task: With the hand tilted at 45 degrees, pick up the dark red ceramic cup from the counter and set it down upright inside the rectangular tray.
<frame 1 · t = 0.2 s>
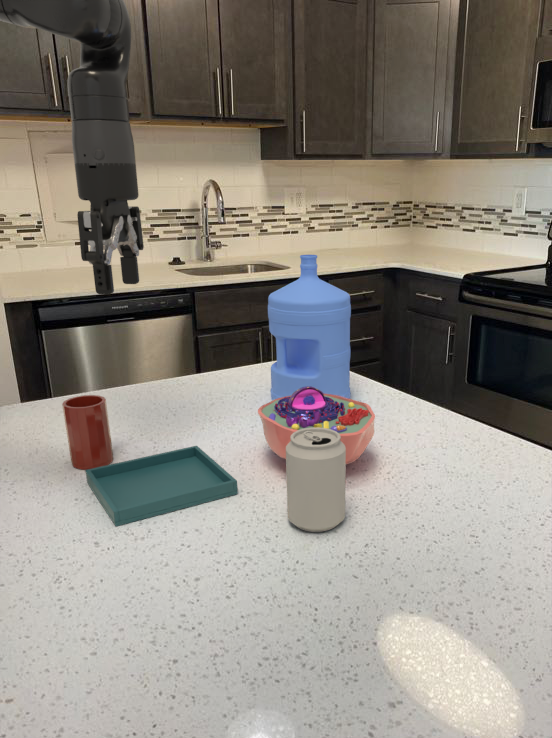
hand: (118, 288, 91), 28 cm above the counter, tool pointing down, fingers open, 8 cm apart
cup: (92, 461, 104), on the counter
rectangular tray: (161, 488, 95), on the counter
can: (316, 522, 86), on the counter
cell model: (318, 462, 104), on the counter
water jug: (310, 401, 131), on the counter
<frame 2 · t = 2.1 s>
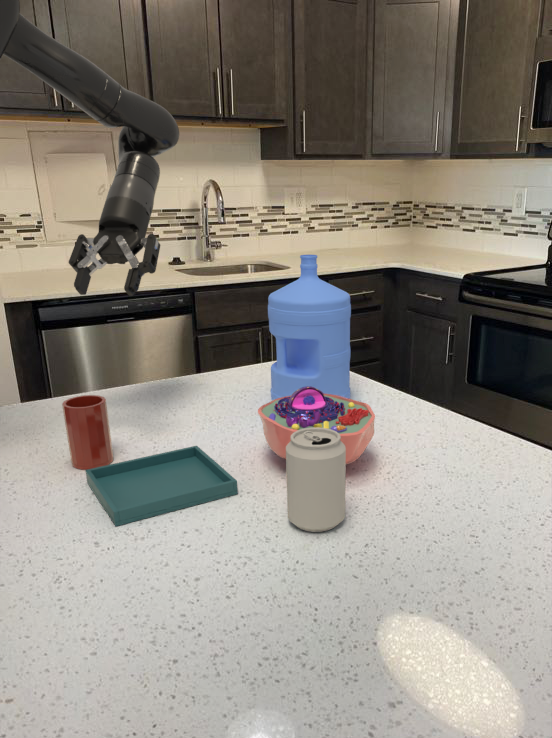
hand: (104, 292, 105), 25 cm above the counter, tool tilted 45°, fingers open, 8 cm apart
nothing on the counter moved.
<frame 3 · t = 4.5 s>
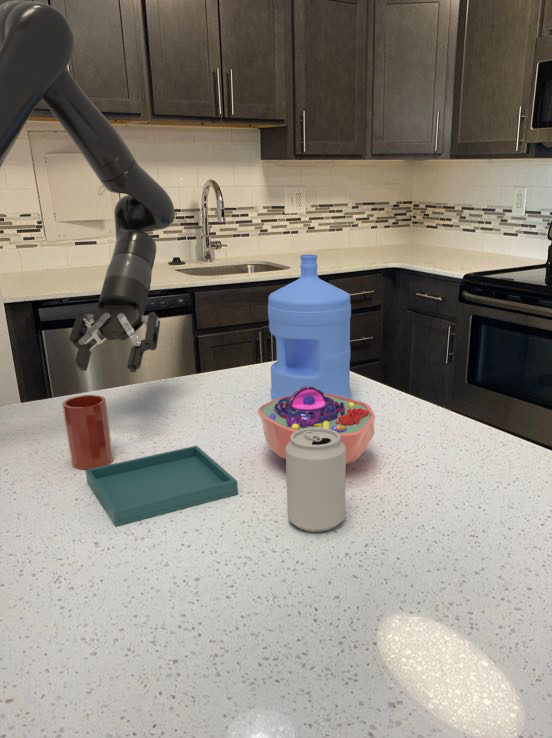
hand: (106, 369, 108), 13 cm above the counter, tool tilted 45°, fingers open, 8 cm apart
nothing on the counter moved.
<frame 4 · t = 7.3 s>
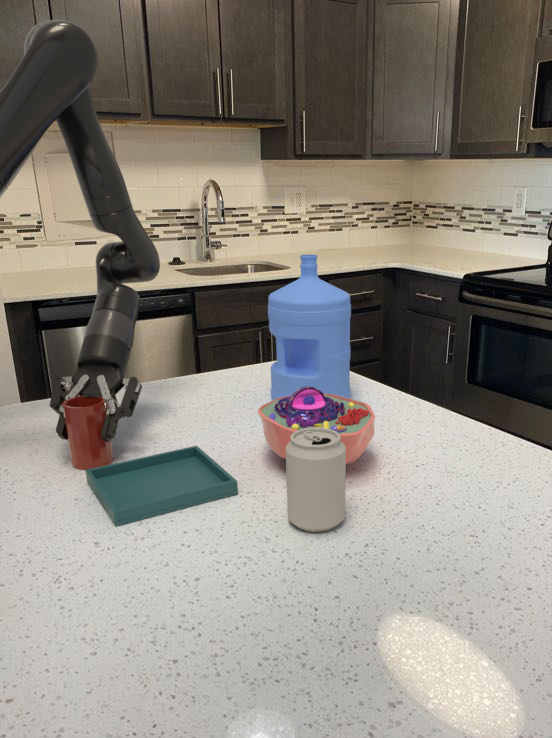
hand: (84, 438, 101), 5 cm above the counter, tool tilted 45°, fingers closed on cup, 6 cm apart
cup: (92, 461, 104), on the counter, touching gripper
everything else where it was.
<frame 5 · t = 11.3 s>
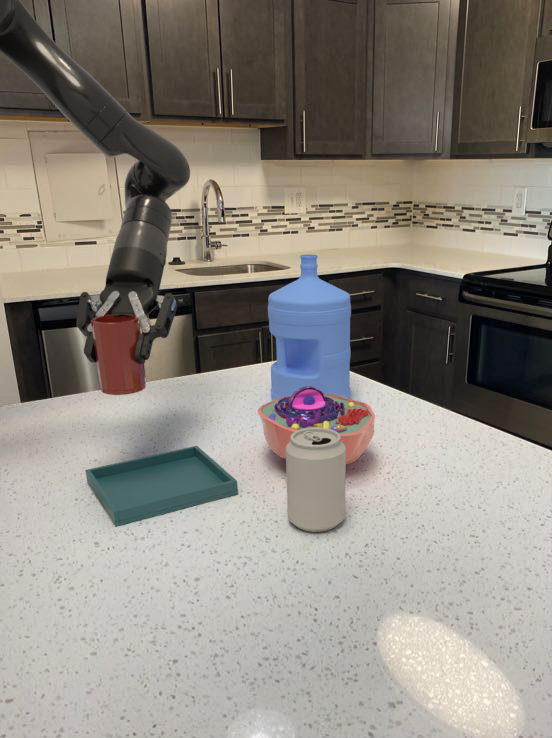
hand: (115, 360, 91), 18 cm above the counter, tool tilted 45°, fingers closed on cup, 6 cm apart
cup: (123, 388, 94), point 14 cm above the counter, touching gripper
everything else where it was.
when the fingers open (5 cm above the counter, at t = 15.6 s): cup stays where it is, resting on rectangular tray.
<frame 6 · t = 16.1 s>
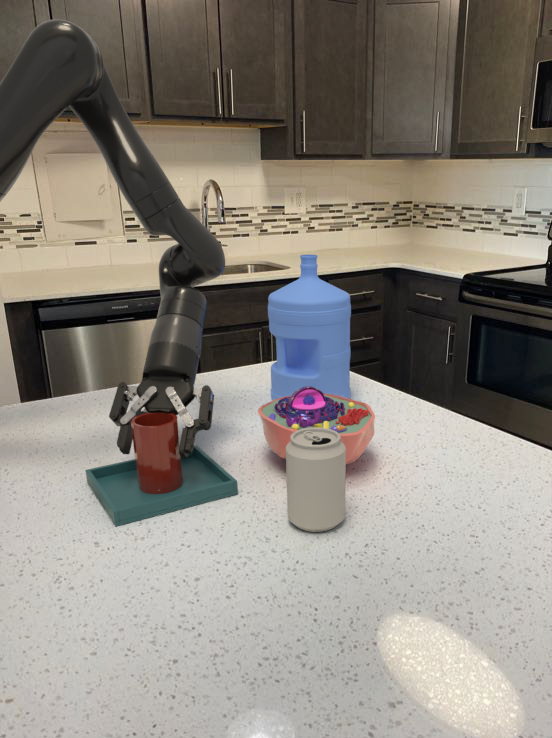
hand: (153, 454, 92), 6 cm above the counter, tool tilted 45°, fingers open, 8 cm apart
cup: (161, 484, 95), point 1 cm above the counter, touching rectangular tray
everything else where it was.
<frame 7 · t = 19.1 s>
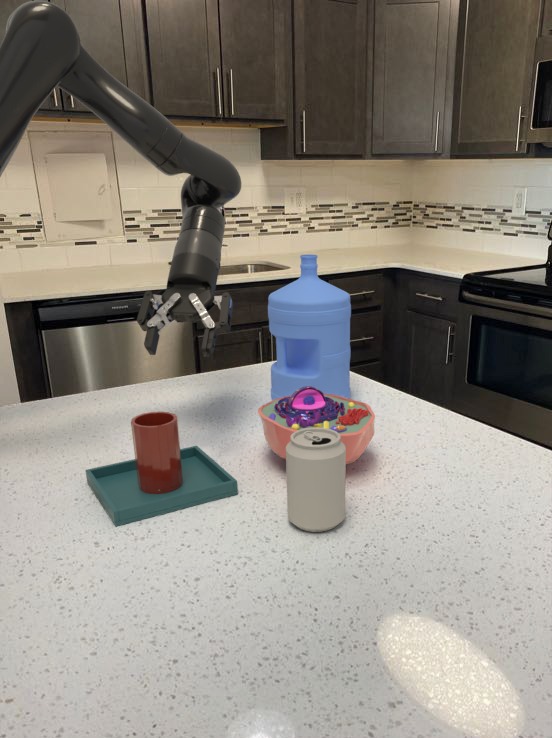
hand: (177, 353, 100), 17 cm above the counter, tool tilted 45°, fingers open, 8 cm apart
nothing on the counter moved.
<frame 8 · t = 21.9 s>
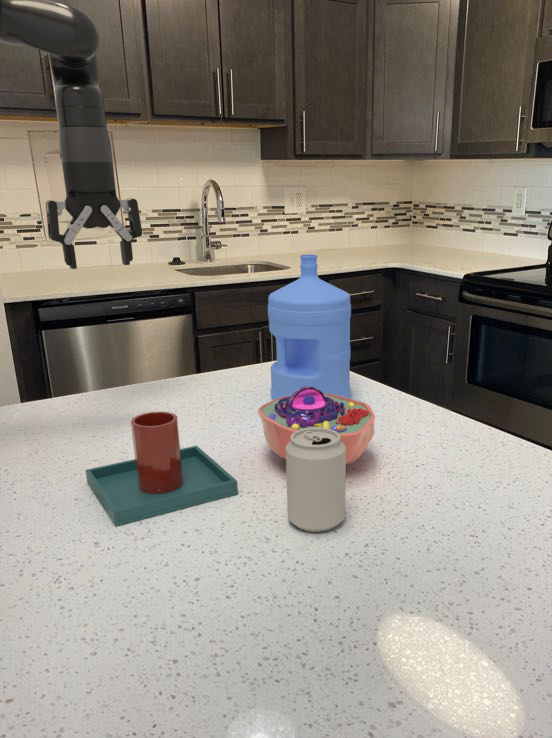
hand: (100, 266, 108), 28 cm above the counter, tool pointing down, fingers open, 8 cm apart
nothing on the counter moved.
at the end: cup inside the target area in the rectangular tray (0.1 cm from its centre), point 0.6 cm above the rectangular tray's base; cup tilted 0°; the gripper is holding nothing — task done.
